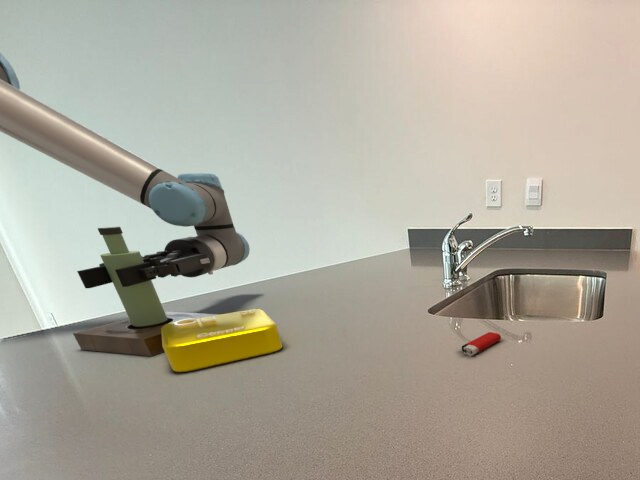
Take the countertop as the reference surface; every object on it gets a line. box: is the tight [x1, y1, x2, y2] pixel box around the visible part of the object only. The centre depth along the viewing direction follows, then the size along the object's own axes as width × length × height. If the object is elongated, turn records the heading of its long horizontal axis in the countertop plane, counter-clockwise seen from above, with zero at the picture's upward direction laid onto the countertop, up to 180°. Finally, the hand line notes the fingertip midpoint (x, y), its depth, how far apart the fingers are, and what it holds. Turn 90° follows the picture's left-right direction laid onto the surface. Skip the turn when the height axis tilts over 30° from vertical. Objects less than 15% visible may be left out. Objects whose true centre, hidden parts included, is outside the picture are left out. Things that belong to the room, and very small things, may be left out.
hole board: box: [72, 310, 220, 357], centre depth 74 cm, size 16×14×3 cm
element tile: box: [161, 308, 283, 373], centre depth 68 cm, size 15×15×5 cm
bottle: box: [97, 226, 168, 327], centre depth 70 cm, size 5×5×16 cm
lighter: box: [461, 331, 502, 357], centre depth 66 cm, size 3×1×8 cm
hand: (102, 278), depth 64 cm, fingers closed on bottle, 5 cm apart
